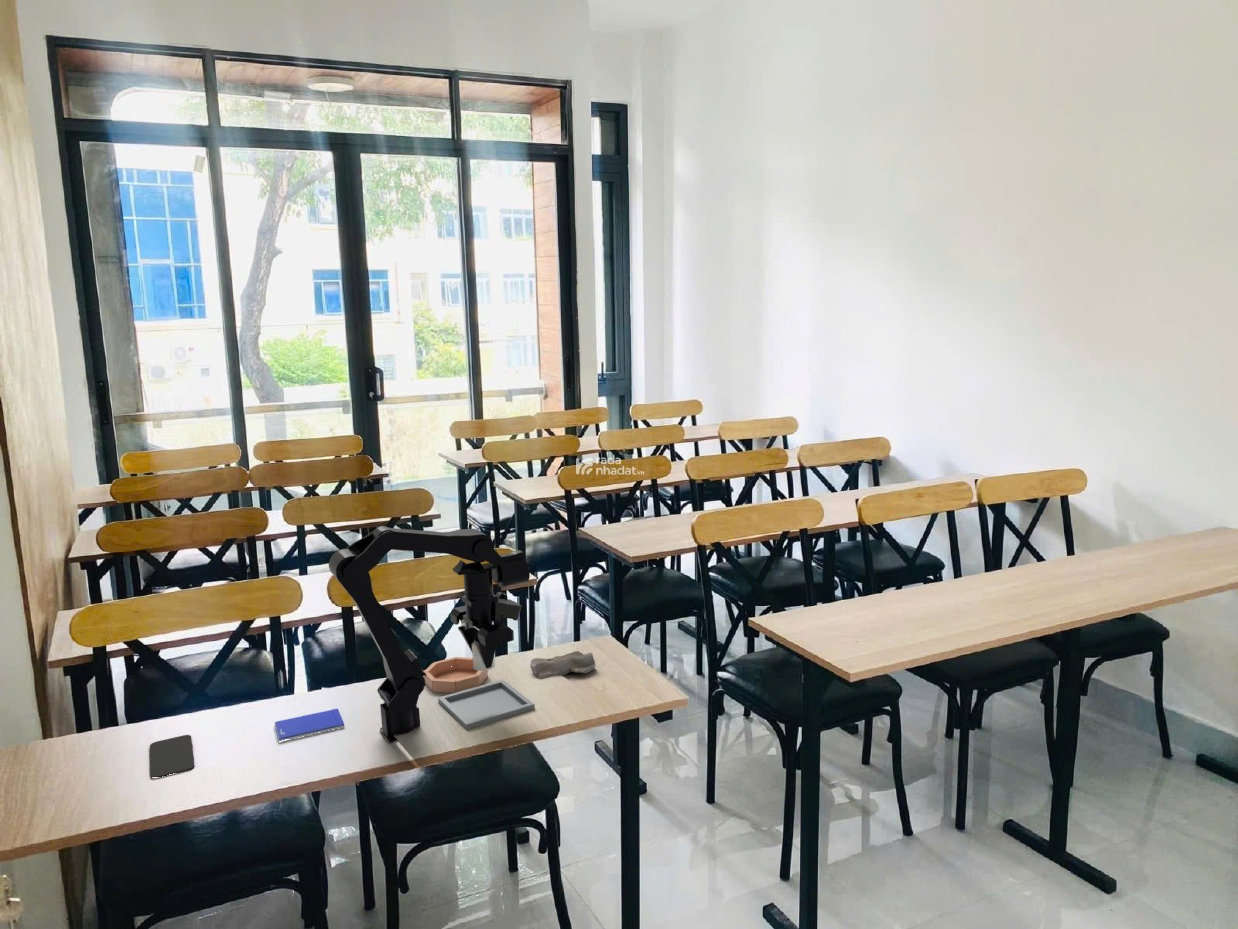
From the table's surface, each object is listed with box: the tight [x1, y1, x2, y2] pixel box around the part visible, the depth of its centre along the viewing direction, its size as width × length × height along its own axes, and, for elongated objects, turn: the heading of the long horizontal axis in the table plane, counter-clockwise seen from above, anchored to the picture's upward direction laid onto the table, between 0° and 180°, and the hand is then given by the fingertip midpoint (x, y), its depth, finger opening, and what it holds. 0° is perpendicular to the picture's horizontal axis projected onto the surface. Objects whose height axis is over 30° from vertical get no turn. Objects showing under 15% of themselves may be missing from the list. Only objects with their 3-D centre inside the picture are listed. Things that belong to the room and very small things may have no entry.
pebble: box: [471, 642, 496, 671], centre depth 179 cm, size 4×4×5 cm
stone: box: [530, 650, 596, 679], centre depth 199 cm, size 15×10×4 cm, turn 107°
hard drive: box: [274, 708, 345, 742], centre depth 176 cm, size 2×8×12 cm
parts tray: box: [437, 679, 536, 730], centre depth 181 cm, size 15×15×2 cm
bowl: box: [423, 656, 489, 694], centre depth 194 cm, size 13×13×4 cm
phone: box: [149, 734, 195, 778], centre depth 166 cm, size 7×1×15 cm
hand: (483, 664), depth 180 cm, fingers closed on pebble, 4 cm apart
